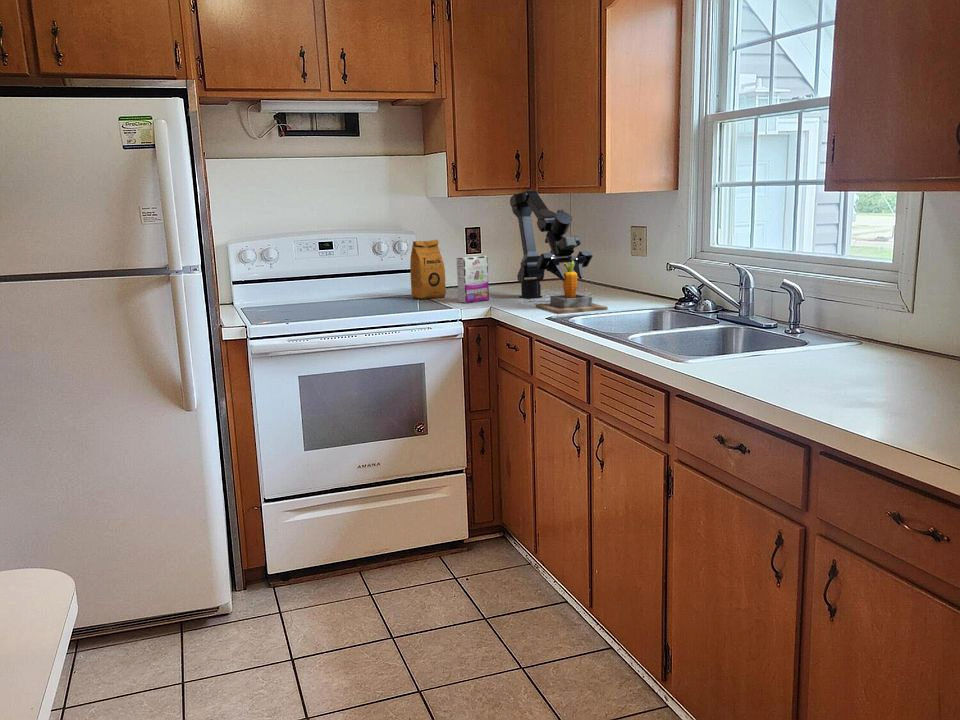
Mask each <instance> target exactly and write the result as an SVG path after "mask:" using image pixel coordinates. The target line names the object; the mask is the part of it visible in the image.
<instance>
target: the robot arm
mask: <svg viewBox="0 0 960 720" xmlns="http://www.w3.org/2000/svg"><path fill="white" fill-rule="evenodd" d="M509 204H510V207H511V210H512V213H513V214H514V216H515V217H517V220H518V227H519V234H520V238H521V241H520V242H521V245H522V254H523V256H522V259H521V261H520V268H519V271H518V272H517V275H516V276H517V282H521V284H520V285H521V295H519V298H524V299H537V298H543V295H541V293H542V290H541V287H542V285H541V283H540V281H541V282H543V281H544V278H545V272H550V273H552V274H553V275H554V276H556V277H557V278H558V279H560V280H561V281H562V282H563V281H564V280H565V277H564V272H563V270H562V267H561V265H560V264H564V263H566V264H571V263H572V261H574V265H573V269H572V270H573V272H576V273H577V278H578V279H579V280H581V281H582V279H583V268H587V267H589V264H590V262H591V260H592V258H593V254H592V252H591V251H590V250H584V251H583V250H581V251H578V253H577V255H572V254H574V252H575V250H574V249H575V248H577V247H579V246H580V245H581V244H582V240H581V238H580V236H579V235H574V236H566V237H565V236H564V235H566V234H567V233H568V231H569V228H570V226H571V224H572V222H573V217H572V215H570V214H569V213H568V212H566V211H565V210H564V209H558V210H557V211H556V212H554V211H552V210H550V209H549V208H548V206H547V205H546V204H545V202H544V201H543V199H542V198H541V197H540V194H539V191H538V190H537V189H536V190H535V189H533V190H532V189H530V190H529V189H528V190H524V191H522V192H519V193H513V194H512V196H511V197H510V199H509ZM532 213H533V214H534V216H535V217H536V218H537V221H536V225H537V228H538V230H539V231H540V232H541V233H546V235H545V239H544V243H545V244H548V245H549V248H550V251H549V252H545V253H544V252H542V253H540V255H539V254H538V253H537V249H536V242H535V234H534V228H533V222H532V221H533V220H532ZM545 270H546V271H545Z"/></svg>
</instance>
